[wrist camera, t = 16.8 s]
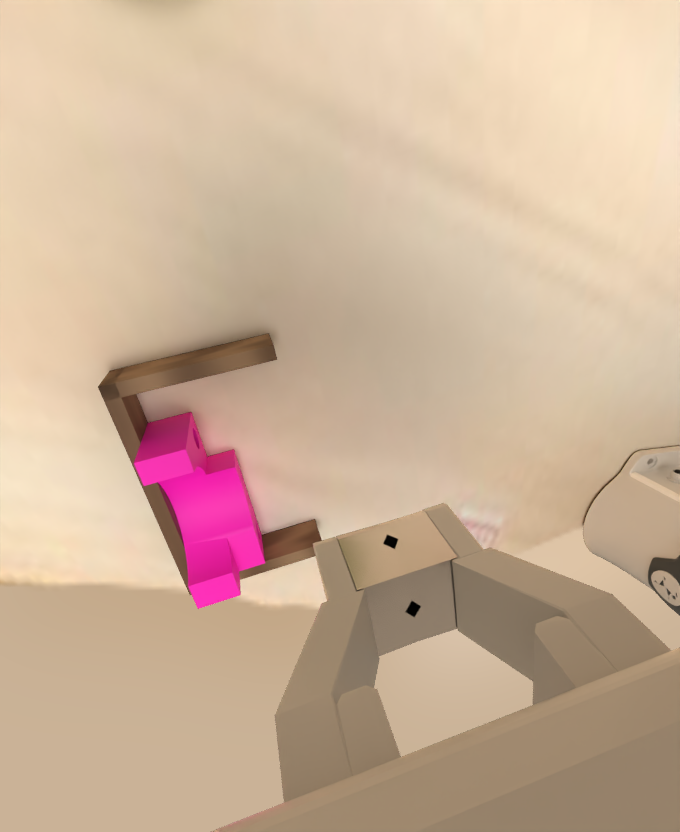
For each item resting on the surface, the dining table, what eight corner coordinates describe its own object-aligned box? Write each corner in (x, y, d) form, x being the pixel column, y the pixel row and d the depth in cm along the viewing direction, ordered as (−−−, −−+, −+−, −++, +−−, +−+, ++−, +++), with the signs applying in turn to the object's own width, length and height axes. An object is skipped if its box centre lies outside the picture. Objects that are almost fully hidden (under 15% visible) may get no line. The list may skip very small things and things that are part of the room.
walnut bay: (268, 333, 38) (273, 345, 35) (317, 528, 48) (324, 552, 44) (109, 370, 37) (97, 386, 33) (192, 566, 46) (190, 595, 42)
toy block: (261, 533, 46) (268, 586, 40) (201, 552, 46) (198, 608, 39) (219, 403, 40) (219, 440, 33) (148, 422, 39) (133, 463, 32)
